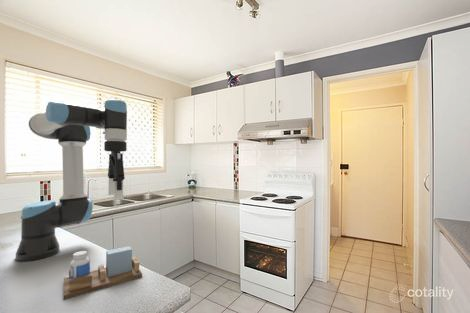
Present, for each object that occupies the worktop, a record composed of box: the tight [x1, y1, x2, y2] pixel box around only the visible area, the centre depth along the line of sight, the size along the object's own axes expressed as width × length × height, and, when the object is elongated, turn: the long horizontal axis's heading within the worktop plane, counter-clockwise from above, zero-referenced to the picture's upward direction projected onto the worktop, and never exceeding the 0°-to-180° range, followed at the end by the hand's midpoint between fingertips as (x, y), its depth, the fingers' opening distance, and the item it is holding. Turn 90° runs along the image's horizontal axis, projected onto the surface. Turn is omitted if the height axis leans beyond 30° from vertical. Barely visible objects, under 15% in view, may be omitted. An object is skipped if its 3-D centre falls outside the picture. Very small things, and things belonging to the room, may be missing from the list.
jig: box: [63, 256, 143, 300], centre depth 83 cm, size 13×23×4 cm, turn 126°
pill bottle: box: [70, 250, 91, 279], centre depth 79 cm, size 6×5×10 cm
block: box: [105, 245, 133, 277], centre depth 86 cm, size 4×8×8 cm, turn 126°
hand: (115, 197), depth 87 cm, fingers open, 13 cm apart
